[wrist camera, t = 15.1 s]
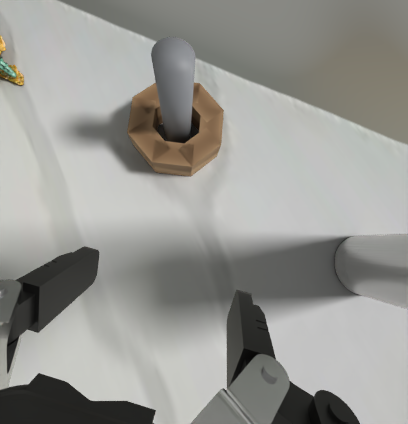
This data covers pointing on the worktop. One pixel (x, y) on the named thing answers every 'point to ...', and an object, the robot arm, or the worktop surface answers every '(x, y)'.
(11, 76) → the green toy figurine
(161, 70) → the dowel
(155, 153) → the brown wooden ring
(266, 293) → the worktop surface
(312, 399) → the robot arm
